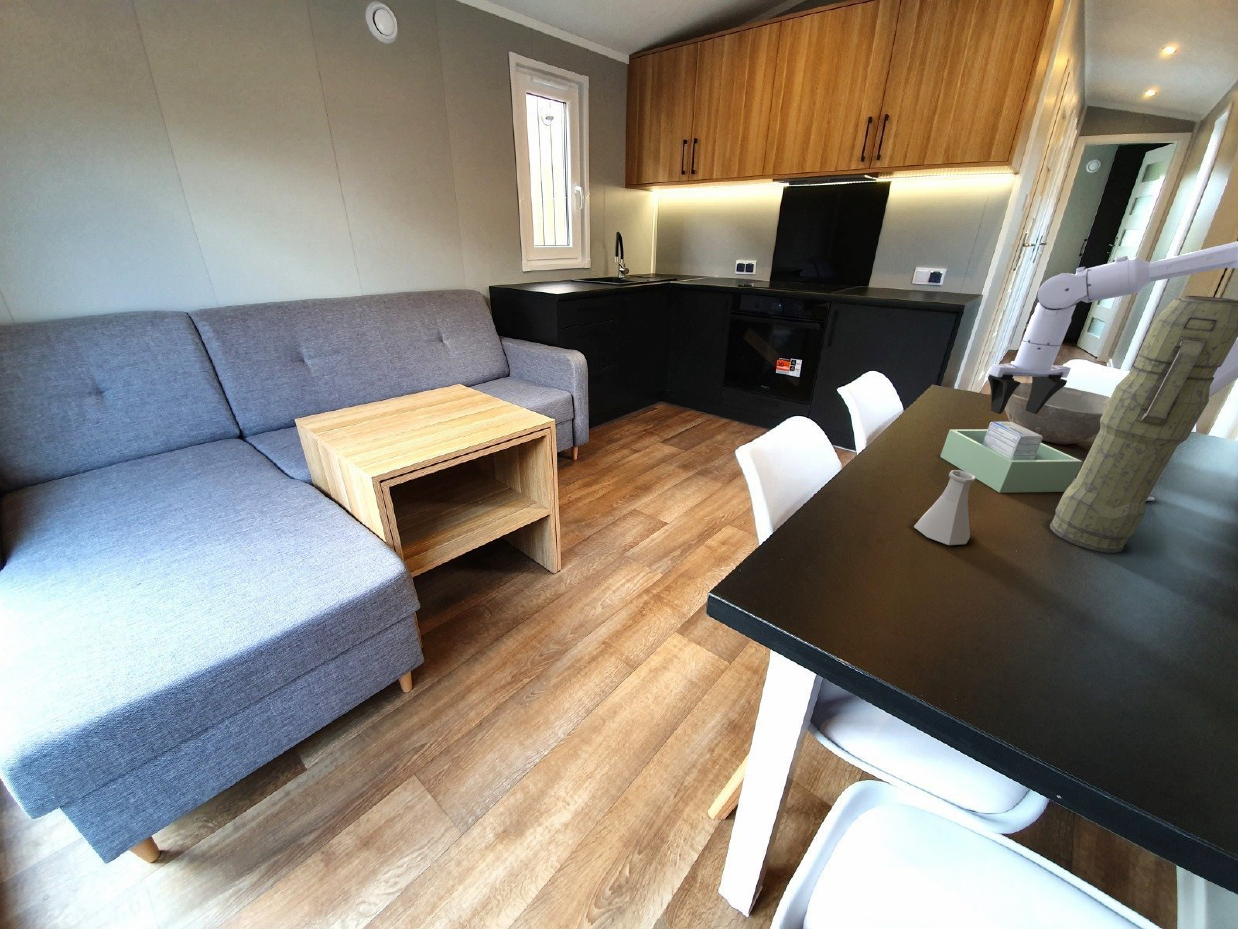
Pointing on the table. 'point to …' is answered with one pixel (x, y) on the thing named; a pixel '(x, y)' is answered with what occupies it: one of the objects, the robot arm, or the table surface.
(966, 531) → the flask
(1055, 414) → the ceramic bowl
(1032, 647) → the table surface
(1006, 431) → the medicine box
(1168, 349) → the thermos
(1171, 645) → the table surface
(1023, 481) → the mint green tray
